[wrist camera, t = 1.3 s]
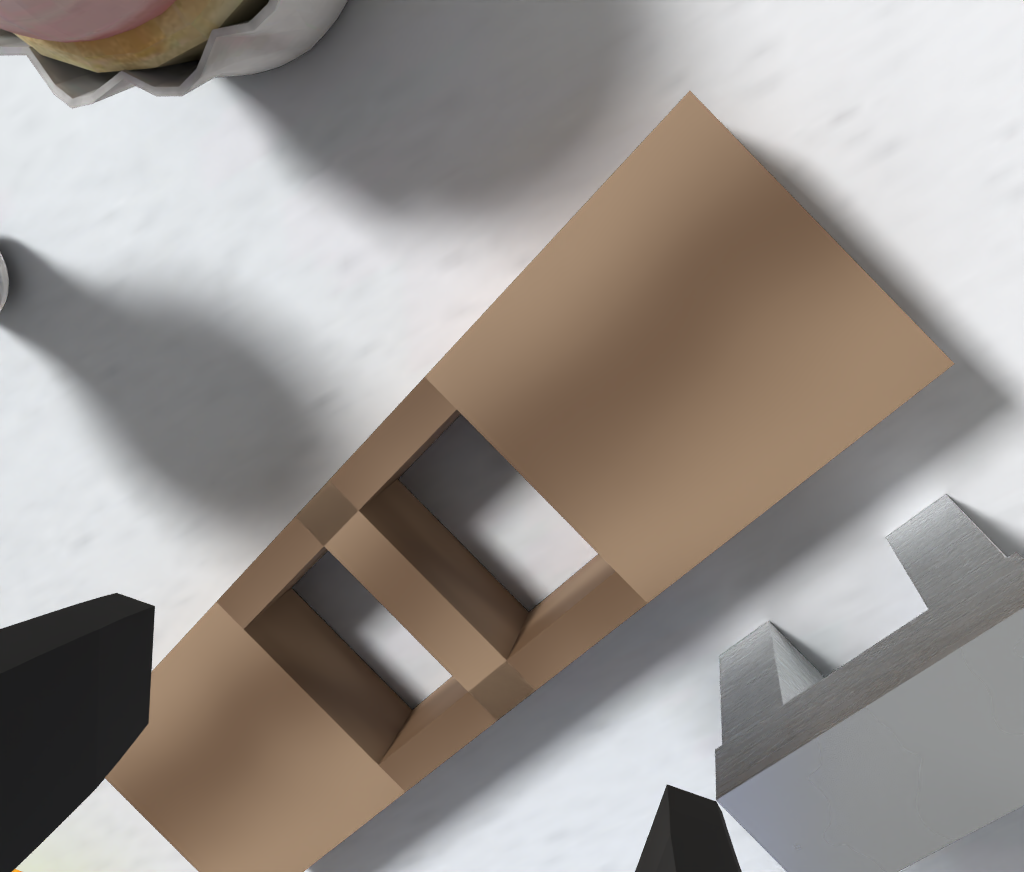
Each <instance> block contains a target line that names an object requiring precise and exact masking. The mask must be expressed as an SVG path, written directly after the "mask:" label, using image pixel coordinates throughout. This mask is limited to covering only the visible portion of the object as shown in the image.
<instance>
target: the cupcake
mask: <svg viewBox="0 0 1024 872" xmlns="http://www.w3.org/2000/svg"><path fill="white" fill-rule="evenodd" d="M347 1H348V0H0V55H27V57H28V58H29V59H30V61H31V62H32V64H33V65H34V67H35V68H36V69H37V71H38V72H39V74H40V75H41V77H42V78H43V79H44V81H45V82H46V84H47V85H48V87H49V88H50V90H51V91H52V92H53V94H54V95H55V96H57V97H58V98H59V99H60V100H62V101H63V102H64V103H66V104H67V105H68V106H69V107H71V108H77V107H81V106H85V105H89V104H93V103H95V102H98V101H100V100H103V99H105V98H107V97H110V96H112V95H115V94H117V93H120V92H122V91H125V90H127V89H129V88H132V87H134V86H137V87H139V88H141V89H143V90H145V91H147V92H149V93H151V94H153V95H155V96H183V95H185V94H187V93H188V92H190V91H192V90H194V89H195V88H197V87H199V86H200V85H202V84H204V83H206V82H207V81H209V80H211V79H213V78H214V77H227V76H241V75H252V74H256V73H260V72H264V71H268V70H271V69H274V68H277V67H280V66H283V65H285V64H286V63H288V62H290V61H292V60H294V59H296V58H297V57H299V56H301V55H302V54H304V53H306V52H307V51H309V50H310V49H312V48H313V46H314V45H315V44H316V43H317V42H318V41H319V40H320V39H321V38H322V37H323V35H324V34H325V33H326V32H327V31H328V30H329V28H330V27H331V26H332V25H333V23H334V22H335V21H336V20H337V18H338V16H339V15H340V13H341V12H342V10H343V8H344V7H345V5H346V3H347Z"/></svg>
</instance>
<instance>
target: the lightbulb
mask: <svg viewBox="0 0 1024 872" xmlns="http://www.w3.org/2000/svg"><path fill="white" fill-rule="evenodd" d="M8 291H9V276H8V271H7V267H6V264H5V261H4V259H3V256H2V254H1V253H0V311H1V310H2V308H3V306H4V305H5V302H6V300H7V296H8Z"/></svg>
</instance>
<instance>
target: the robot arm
mask: <svg viewBox="0 0 1024 872" xmlns="http://www.w3.org/2000/svg"><path fill="white" fill-rule="evenodd" d="M154 612H155V606H153V605H150V604H147V603H144V602H141V601H138V600H136V599H133V598H130V597H127V596H124V595H121V594H118V593H115V594H111V595H107V596H103V597H100V598H96V599H93V600H89V601H86V602H83V603H79V604H76V605H73V606H70V607H67V608H64V609H60V610H57V611H54V612H51V613H48V614H45V615H42V616H39V617H36V618H33V619H30V620H27V621H24V622H21V623H18V624H15V625H12V626H9V627H6V628H2V629H0V872H12V871H13V870H14V869H15V868H16V867H17V866H18V865H19V864H20V863H21V862H22V861H23V860H24V859H26V858H27V857H28V856H29V855H30V854H31V853H32V852H33V851H34V850H35V849H36V848H37V847H38V846H39V845H40V844H41V843H42V842H43V841H44V840H45V839H46V838H47V837H48V836H49V835H50V834H51V833H52V832H53V831H54V830H55V829H56V828H57V827H58V826H59V825H60V824H61V823H62V822H63V821H64V820H65V819H66V818H67V817H68V816H69V815H70V814H71V813H72V812H73V811H74V810H75V809H76V808H77V807H78V806H79V805H80V804H81V803H82V802H83V801H84V800H85V799H86V798H87V797H88V796H89V795H90V794H91V793H92V792H93V791H94V790H95V789H96V788H97V787H98V786H99V784H100V783H101V782H102V781H103V780H104V778H105V777H106V776H107V775H108V774H109V772H110V771H111V770H112V769H113V768H114V767H115V765H116V764H117V763H118V762H119V761H120V759H121V758H122V757H123V756H124V754H125V753H126V752H127V750H128V749H129V748H130V747H131V745H132V744H133V743H134V742H135V740H136V739H137V738H138V736H139V735H140V734H141V733H142V731H143V730H144V729H145V727H146V726H147V725H148V724H149V707H150V688H151V669H152V650H153V631H154ZM635 872H741V869H740V866H739V863H738V860H737V857H736V854H735V851H734V848H733V845H732V842H731V839H730V836H729V833H728V830H727V827H726V823H725V820H724V817H723V814H722V811H721V809H720V808H719V806H718V804H717V802H716V801H713V800H710V799H707V798H704V797H701V796H699V795H696V794H693V793H690V792H687V791H684V790H681V789H678V788H676V787H673V786H670V785H667V786H666V789H665V791H664V794H663V797H662V799H661V802H660V805H659V808H658V810H657V813H656V816H655V819H654V821H653V824H652V827H651V830H650V832H649V835H648V838H647V841H646V843H645V846H644V849H643V852H642V854H641V857H640V860H639V863H638V865H637V868H636V871H635Z"/></svg>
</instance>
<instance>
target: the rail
mask: <svg viewBox="0 0 1024 872" xmlns="http://www.w3.org/2000/svg"><path fill="white" fill-rule="evenodd" d="M952 365H954V363H953V362H952V361H951V360H950V359H949V358H948V357H947V355H946V354H945V353H944V352H943V351H942V350H941V349H940V348H939V347H938V346H937V345H936V344H935V343H934V342H933V341H932V340H931V339H930V338H929V337H928V336H927V335H926V334H925V333H924V332H923V331H922V330H921V329H920V328H919V327H918V326H917V325H916V323H915V322H914V321H913V320H912V319H911V318H910V317H909V316H908V315H907V314H906V313H905V312H904V311H903V310H902V309H901V308H900V307H899V306H898V305H897V304H896V303H895V302H894V301H893V300H892V299H891V298H890V297H889V296H888V295H887V294H886V293H885V291H884V290H883V289H882V288H881V287H880V286H879V285H878V284H877V283H876V282H875V281H874V280H873V279H872V278H871V277H870V276H869V275H868V274H867V273H866V272H865V271H864V270H863V269H862V268H861V267H860V266H859V265H858V264H857V263H856V262H855V261H854V259H853V258H852V257H851V256H850V255H849V254H848V253H847V252H846V251H845V250H844V249H843V248H842V247H841V246H840V245H839V244H838V243H837V242H836V241H835V240H834V239H833V238H832V237H831V236H830V235H829V234H828V233H827V232H826V231H825V230H824V229H823V227H822V226H821V225H820V224H819V223H818V222H817V221H816V220H815V219H814V218H813V217H812V216H811V215H810V214H809V213H808V212H807V211H806V210H805V209H804V208H803V207H802V206H801V205H800V204H799V203H798V202H797V201H796V200H795V199H794V198H793V197H792V195H791V194H790V193H789V192H788V191H787V190H786V189H785V188H784V187H783V186H782V185H781V184H780V183H779V182H778V181H777V180H776V179H775V178H774V177H773V176H772V175H771V174H770V173H769V172H768V171H767V170H766V169H765V168H764V167H763V166H762V165H761V163H760V162H759V161H758V160H757V159H756V158H755V157H754V156H753V155H752V154H751V153H750V152H749V151H748V150H747V149H746V148H745V147H744V146H743V145H742V144H741V143H740V142H739V141H738V140H737V139H736V138H735V137H734V136H733V135H732V134H731V133H730V132H729V130H728V129H727V128H726V127H725V126H724V125H723V124H722V123H721V122H720V121H719V120H718V119H717V118H716V117H715V116H714V115H713V114H712V113H711V112H710V111H709V110H708V109H707V108H706V107H705V106H704V105H703V104H702V103H701V102H700V101H699V100H698V98H697V97H696V96H695V95H694V94H693V93H692V92H691V91H689V92H688V93H687V94H686V95H685V96H684V97H683V99H682V100H681V101H680V102H679V103H678V104H677V105H676V106H675V107H674V108H673V109H672V110H671V111H670V113H669V114H668V115H667V116H666V117H665V118H664V119H663V120H662V121H661V122H660V123H659V124H658V126H657V127H656V128H655V129H654V130H653V131H652V132H651V133H650V134H649V135H648V136H647V137H646V138H645V140H644V141H643V142H642V143H641V144H640V145H639V146H638V147H637V148H636V149H635V150H634V151H633V153H632V154H631V155H630V156H629V157H628V158H627V159H626V160H625V161H624V162H623V163H622V164H621V165H620V167H619V168H618V169H617V170H616V171H615V172H614V173H613V174H612V175H611V176H610V177H609V178H608V179H607V181H606V182H605V183H604V184H603V185H602V186H601V187H600V188H599V189H598V190H597V191H596V192H595V194H594V195H593V196H592V197H591V198H590V199H589V200H588V201H587V202H586V203H585V204H584V205H583V206H582V208H581V209H580V210H579V211H578V212H577V213H576V214H575V215H574V216H573V217H572V218H571V219H570V221H569V222H568V223H567V224H566V225H565V226H564V227H563V228H562V229H561V230H560V231H559V232H558V233H557V235H556V236H555V237H554V238H553V239H552V240H551V241H550V242H549V243H548V244H547V245H546V246H545V248H544V249H543V250H542V251H541V252H540V253H539V254H538V255H537V256H536V257H535V258H534V259H533V260H532V262H531V263H530V264H529V265H528V266H527V267H526V268H525V269H524V270H523V271H522V272H521V273H520V275H519V276H518V277H517V278H516V279H515V280H514V281H513V282H512V283H511V284H510V285H509V286H508V287H507V289H506V290H505V291H504V292H503V293H502V294H501V295H500V296H499V297H498V298H497V299H496V300H495V302H494V303H493V304H492V305H491V306H490V307H489V308H488V309H487V310H486V311H485V312H484V313H483V314H482V316H481V317H480V318H479V319H478V320H477V321H476V322H475V323H474V324H473V325H472V326H471V327H470V329H469V330H468V331H467V332H466V333H465V334H464V335H463V336H462V337H461V338H460V339H459V340H458V341H457V343H456V344H455V345H454V346H453V347H452V348H451V349H450V350H449V351H448V352H447V353H446V354H445V356H444V357H443V358H442V359H441V360H440V361H439V362H438V363H437V364H436V365H435V366H434V367H433V368H432V370H431V371H430V372H429V373H428V374H427V375H426V376H425V377H424V378H423V379H422V380H421V381H420V383H419V384H418V385H417V386H416V387H415V388H414V389H413V390H412V391H411V392H410V393H409V394H408V395H407V397H406V398H405V399H404V400H403V401H402V402H401V403H400V404H399V405H398V406H397V407H396V408H395V410H394V411H393V412H392V413H391V414H390V415H389V416H388V417H387V418H386V419H385V420H384V421H383V422H382V424H381V425H380V426H379V427H378V428H377V429H376V430H375V431H374V432H373V433H372V434H371V435H370V437H369V438H368V439H367V440H366V441H365V442H364V443H363V444H362V445H361V446H360V447H359V448H358V449H357V451H356V452H355V453H354V454H353V455H352V456H351V457H350V458H349V459H348V460H347V461H346V462H345V464H344V465H343V466H342V467H341V468H340V469H339V470H338V471H337V472H336V473H335V474H334V475H333V476H332V478H331V479H330V480H329V481H328V482H327V483H326V484H325V485H324V486H323V487H322V488H321V489H320V491H319V492H318V493H317V494H316V495H315V496H314V497H313V498H312V499H311V500H310V501H309V502H308V503H307V505H306V506H305V507H304V508H303V509H302V510H301V511H300V512H299V513H298V514H297V515H296V516H295V517H294V519H293V520H292V521H291V522H290V523H289V524H288V525H287V526H286V527H285V528H284V529H283V530H282V532H281V533H280V534H279V535H278V536H277V537H276V538H275V539H274V540H273V541H272V542H271V543H270V544H269V546H268V547H267V548H266V549H265V550H264V551H263V552H262V553H261V554H260V555H259V556H258V557H257V559H256V560H255V561H254V562H253V563H252V564H251V565H250V566H249V567H248V568H247V569H246V570H245V571H244V573H243V574H242V575H241V576H240V577H239V578H238V579H237V580H236V581H235V582H234V583H233V584H232V586H231V587H230V588H229V589H228V590H227V591H226V592H225V593H224V594H223V595H222V596H221V597H220V598H219V600H218V601H217V602H216V603H215V604H214V605H213V606H212V607H211V608H210V609H209V610H208V611H207V613H206V614H205V615H204V616H203V617H202V618H201V619H200V620H199V621H198V622H197V623H196V624H195V625H194V627H193V628H192V629H191V630H190V631H189V632H188V633H187V634H186V635H185V636H184V637H183V638H182V640H181V641H180V642H179V643H178V644H177V645H176V646H175V647H174V648H173V649H172V650H171V651H170V652H169V654H168V655H167V656H166V657H165V658H164V659H163V660H162V661H161V662H160V663H159V664H158V665H157V667H156V668H155V669H154V670H153V671H152V672H151V688H150V707H149V724H148V725H147V726H146V727H145V729H144V730H143V731H142V733H141V734H140V735H139V736H138V738H137V739H136V740H135V742H134V743H133V744H132V745H131V747H130V748H129V749H128V750H127V752H126V753H125V754H124V756H123V757H122V758H121V759H120V761H119V762H118V763H117V764H116V765H115V767H114V768H113V769H112V770H111V771H110V772H109V774H108V775H107V776H106V777H105V779H106V780H107V781H108V782H109V783H110V784H111V785H112V786H113V787H114V788H115V789H116V790H117V791H118V792H119V793H120V794H121V795H122V796H123V797H124V798H125V799H126V800H127V801H128V802H129V803H130V804H131V805H132V806H133V807H134V808H135V809H136V810H137V811H138V812H139V813H140V814H141V815H142V816H143V817H144V818H145V819H146V820H147V821H148V822H149V823H150V824H151V825H152V826H153V827H154V828H155V829H156V830H157V831H158V832H159V833H160V834H161V835H162V836H163V837H164V838H165V839H166V840H167V841H168V842H169V843H170V844H171V845H172V846H173V847H174V848H175V849H176V850H177V851H178V852H179V853H180V854H181V855H182V856H183V857H184V858H185V859H186V860H187V861H188V862H189V863H190V864H192V865H193V866H194V867H195V868H196V869H197V870H198V871H199V872H304V871H305V870H306V869H308V868H309V867H310V866H312V865H313V864H314V863H315V862H317V861H318V860H319V859H321V858H322V857H323V856H324V855H326V854H327V853H328V852H329V851H331V850H332V849H333V848H335V847H336V846H337V845H338V844H340V843H341V842H342V841H344V840H345V839H346V838H347V837H349V836H350V835H351V834H353V833H354V832H355V831H356V830H358V829H359V828H360V827H362V826H363V825H364V824H365V823H367V822H368V821H369V820H371V819H372V818H373V817H374V816H376V815H377V814H378V813H379V812H381V811H382V810H383V809H385V808H386V807H387V806H388V805H390V804H391V803H392V802H394V801H395V800H396V799H397V798H399V797H400V796H401V795H403V794H404V793H405V792H406V791H408V790H409V789H410V788H412V787H413V786H414V785H415V784H417V783H418V782H419V781H421V780H422V779H423V778H424V777H426V776H427V775H428V774H429V773H431V772H432V771H433V770H435V769H436V768H437V767H438V766H440V765H441V764H442V763H444V762H445V761H446V760H447V759H449V758H450V757H451V756H453V755H454V754H455V753H456V752H458V751H459V750H460V749H462V748H463V747H464V746H465V745H467V744H468V743H469V742H470V741H472V740H473V739H474V738H476V737H477V736H478V735H479V734H481V733H482V732H483V731H485V730H486V729H487V728H488V727H490V726H491V725H492V724H494V723H495V722H496V721H497V720H499V719H500V718H501V717H503V716H504V715H505V714H506V713H508V712H509V711H510V710H512V709H513V708H514V707H515V706H517V705H518V704H519V703H520V702H522V701H523V700H524V699H526V698H527V697H528V696H529V695H531V694H532V693H533V692H535V691H536V690H537V689H538V688H540V687H541V686H542V685H544V684H545V683H546V682H547V681H549V680H550V679H551V678H553V677H554V676H555V675H556V674H558V673H559V672H560V671H562V670H563V669H564V668H565V667H567V666H568V665H569V664H570V663H572V662H573V661H574V660H576V659H577V658H578V657H579V656H581V655H582V654H583V653H585V652H586V651H587V650H588V649H590V648H591V647H592V646H594V645H595V644H596V643H597V642H599V641H600V640H601V639H603V638H604V637H605V636H606V635H608V634H609V633H610V632H611V631H613V630H614V629H615V628H617V627H618V626H619V625H620V624H622V623H623V622H624V621H626V620H627V619H628V618H629V617H631V616H632V615H633V614H635V613H636V612H637V611H638V610H640V609H641V608H642V607H644V606H645V605H646V604H647V603H649V602H650V601H651V600H653V599H654V598H655V597H656V596H658V595H659V594H660V593H661V592H663V591H664V590H665V589H667V588H668V587H669V586H670V585H672V584H673V583H674V582H676V581H677V580H678V579H679V578H681V577H682V576H683V575H685V574H686V573H687V572H688V571H690V570H691V569H692V568H694V567H695V566H696V565H697V564H699V563H700V562H701V561H703V560H704V559H705V558H706V557H708V556H709V555H710V554H711V553H713V552H714V551H715V550H717V549H718V548H719V547H720V546H722V545H723V544H724V543H726V542H727V541H728V540H729V539H731V538H732V537H733V536H735V535H736V534H737V533H738V532H740V531H741V530H742V529H744V528H745V527H746V526H747V525H749V524H750V523H751V522H753V521H754V520H755V519H756V518H758V517H759V516H760V515H761V514H763V513H764V512H765V511H767V510H768V509H769V508H770V507H772V506H773V505H774V504H776V503H777V502H778V501H779V500H781V499H782V498H783V497H785V496H786V495H787V494H788V493H790V492H791V491H792V490H794V489H795V488H796V487H797V486H799V485H800V484H801V483H802V482H804V481H805V480H806V479H808V478H809V477H810V476H811V475H813V474H814V473H815V472H817V471H818V470H819V469H820V468H822V467H823V466H824V465H826V464H827V463H828V462H829V461H831V460H832V459H833V458H835V457H836V456H837V455H838V454H840V453H841V452H842V451H844V450H845V449H846V448H847V447H849V446H850V445H851V444H852V443H854V442H855V441H856V440H858V439H859V438H860V437H861V436H863V435H864V434H865V433H867V432H868V431H869V430H870V429H872V428H873V427H874V426H876V425H877V424H878V423H879V422H881V421H882V420H883V419H885V418H886V417H887V416H888V415H890V414H891V413H892V412H894V411H895V410H896V409H897V408H899V407H900V406H901V405H902V404H904V403H905V402H906V401H908V400H909V399H910V398H911V397H913V396H914V395H915V394H917V393H918V392H919V391H920V390H922V389H923V388H924V387H926V386H927V385H928V384H929V383H931V382H932V381H933V380H935V379H936V378H937V377H938V376H940V375H941V374H942V373H944V372H945V371H946V370H947V369H949V368H950V367H951V366H952ZM461 414H462V415H463V416H464V417H465V418H466V419H467V420H468V421H469V422H470V423H471V424H472V425H473V426H474V427H475V428H476V429H477V431H478V432H479V433H480V434H481V435H482V436H483V437H484V438H485V439H486V440H487V441H488V442H489V443H490V444H491V445H492V446H493V447H494V448H495V449H496V450H497V451H498V452H499V453H500V454H501V455H502V456H503V457H504V458H505V459H506V460H507V461H508V462H509V463H510V464H511V465H512V466H513V467H514V468H515V469H516V470H517V471H518V472H519V473H520V474H521V475H522V476H523V477H524V478H525V479H526V480H527V481H528V482H529V483H530V484H531V485H532V486H533V487H534V489H535V490H536V491H537V492H538V493H539V494H540V495H541V496H542V497H543V498H544V499H545V500H546V501H547V502H548V503H549V504H550V505H551V506H552V507H553V508H554V509H555V510H556V511H557V512H558V513H559V514H560V515H561V516H562V517H563V518H564V519H565V520H566V521H567V522H568V523H569V524H570V525H571V526H572V527H573V528H574V529H575V530H576V531H577V532H578V533H579V534H580V535H581V536H582V537H583V538H584V539H585V540H586V541H587V542H588V543H589V544H590V545H591V547H592V548H593V549H594V550H595V551H596V552H597V553H598V555H597V556H595V557H594V558H593V559H592V560H591V561H589V562H588V563H587V564H586V565H585V566H583V567H582V568H581V569H580V570H579V571H578V572H576V573H575V574H574V575H573V576H572V577H570V578H569V579H568V580H567V581H566V582H564V583H563V584H562V585H561V586H560V587H558V588H557V589H556V590H555V591H554V592H552V593H551V594H550V595H549V596H548V597H546V598H545V599H544V600H543V601H542V602H541V603H539V604H538V605H537V606H536V607H535V608H533V609H532V610H531V611H530V612H528V611H527V610H526V609H525V608H524V607H523V606H522V605H521V604H520V603H519V602H518V601H517V600H516V599H515V598H514V597H513V596H512V595H511V594H510V593H509V592H508V591H507V590H506V589H505V588H504V587H503V586H502V585H501V584H500V583H499V582H498V581H497V580H496V578H495V577H494V576H493V575H492V574H491V573H490V572H489V571H488V570H487V569H486V568H485V567H484V566H483V565H482V564H481V563H480V562H479V561H478V560H477V559H476V558H475V557H474V556H473V555H472V554H471V553H470V552H469V551H468V550H467V549H466V548H465V547H464V546H463V545H462V544H461V543H460V542H459V541H458V540H457V539H456V538H455V537H454V536H453V535H452V534H451V533H450V532H449V531H448V530H447V529H446V528H445V527H444V526H443V525H442V524H441V523H440V522H439V521H438V520H437V519H436V518H435V517H434V516H433V515H432V514H431V513H430V512H429V511H428V510H427V509H426V508H425V506H424V505H423V504H422V503H421V502H420V501H419V500H418V499H417V498H416V497H415V496H414V495H413V494H412V493H411V492H410V491H409V490H408V489H407V488H406V487H405V486H404V485H403V484H402V483H401V482H400V481H399V480H398V478H399V477H400V476H401V475H402V474H403V473H404V472H405V471H406V470H407V469H408V468H409V467H410V466H411V465H412V464H413V463H414V462H415V461H416V460H417V459H418V458H419V457H420V456H421V455H422V454H423V453H424V452H425V451H426V450H427V449H428V448H429V447H430V446H431V445H432V444H433V442H434V441H435V440H436V439H437V438H438V437H439V436H440V435H441V434H442V433H443V432H444V431H445V430H446V429H447V428H448V427H449V426H450V425H451V424H452V423H453V422H454V421H455V420H456V419H457V418H458V417H459V416H460V415H461ZM327 551H329V552H330V553H331V554H332V555H333V556H334V557H335V558H336V559H337V560H338V561H339V562H340V563H341V564H342V565H343V566H344V567H345V568H346V569H347V570H348V571H349V572H350V573H351V574H352V575H353V576H354V577H355V578H356V579H357V580H358V581H359V582H360V583H361V584H362V585H363V586H364V587H365V588H366V589H367V590H368V591H369V592H370V593H371V594H372V595H373V596H374V597H375V598H376V599H377V600H378V601H379V602H380V603H381V604H382V605H383V606H384V607H385V608H386V609H387V610H388V611H389V612H390V613H391V614H392V615H393V616H394V617H395V618H396V619H397V620H398V621H399V622H400V623H401V624H402V625H403V626H404V627H405V628H406V629H407V630H408V631H409V633H410V634H411V635H412V636H413V637H414V638H415V639H416V640H417V641H418V642H419V643H420V644H421V645H422V646H423V647H424V648H425V649H426V650H427V651H428V652H429V653H430V654H431V655H432V656H433V657H434V658H435V659H436V660H437V661H438V662H439V663H440V664H441V665H442V666H443V667H444V668H445V669H446V670H447V671H448V672H449V673H450V674H451V675H452V677H451V678H450V679H449V680H447V681H446V682H445V683H444V684H443V685H442V686H440V687H439V688H438V689H437V690H436V691H434V692H433V693H432V694H431V695H430V696H428V697H427V698H426V699H425V700H424V701H422V702H421V703H420V704H419V705H418V706H416V707H415V708H414V709H413V710H412V709H411V708H410V707H409V706H408V705H407V704H406V703H405V702H404V701H403V700H402V699H401V698H400V697H399V696H398V695H397V694H396V693H395V692H394V691H393V690H392V689H391V688H390V687H389V686H388V685H387V684H386V683H385V682H384V681H383V680H382V679H381V678H380V677H379V676H378V675H377V674H376V673H375V672H374V671H373V670H372V669H371V668H370V667H369V666H368V665H367V664H366V663H365V662H364V661H363V660H362V659H361V658H360V657H359V656H358V655H357V654H356V653H355V652H354V651H353V650H352V649H351V648H350V647H349V646H348V645H347V644H346V643H345V642H344V641H343V640H342V639H341V638H340V637H339V636H338V635H337V634H336V633H335V632H334V631H333V630H332V629H331V628H330V627H329V626H328V625H327V624H326V623H325V622H324V621H323V620H322V619H321V618H320V617H319V616H318V614H317V613H316V612H315V611H314V610H313V609H312V608H311V607H310V606H309V605H308V604H307V603H306V602H305V601H304V600H303V599H302V598H301V597H300V596H299V595H298V594H297V593H296V592H295V591H294V590H293V589H292V587H293V586H294V585H295V584H296V583H297V582H298V581H299V580H300V579H301V578H302V577H303V576H304V575H305V574H306V573H307V572H308V570H309V569H310V568H311V567H312V566H313V565H314V564H315V563H316V562H317V561H318V560H319V559H320V558H321V557H322V556H323V555H324V554H325V553H326V552H327Z"/></svg>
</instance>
